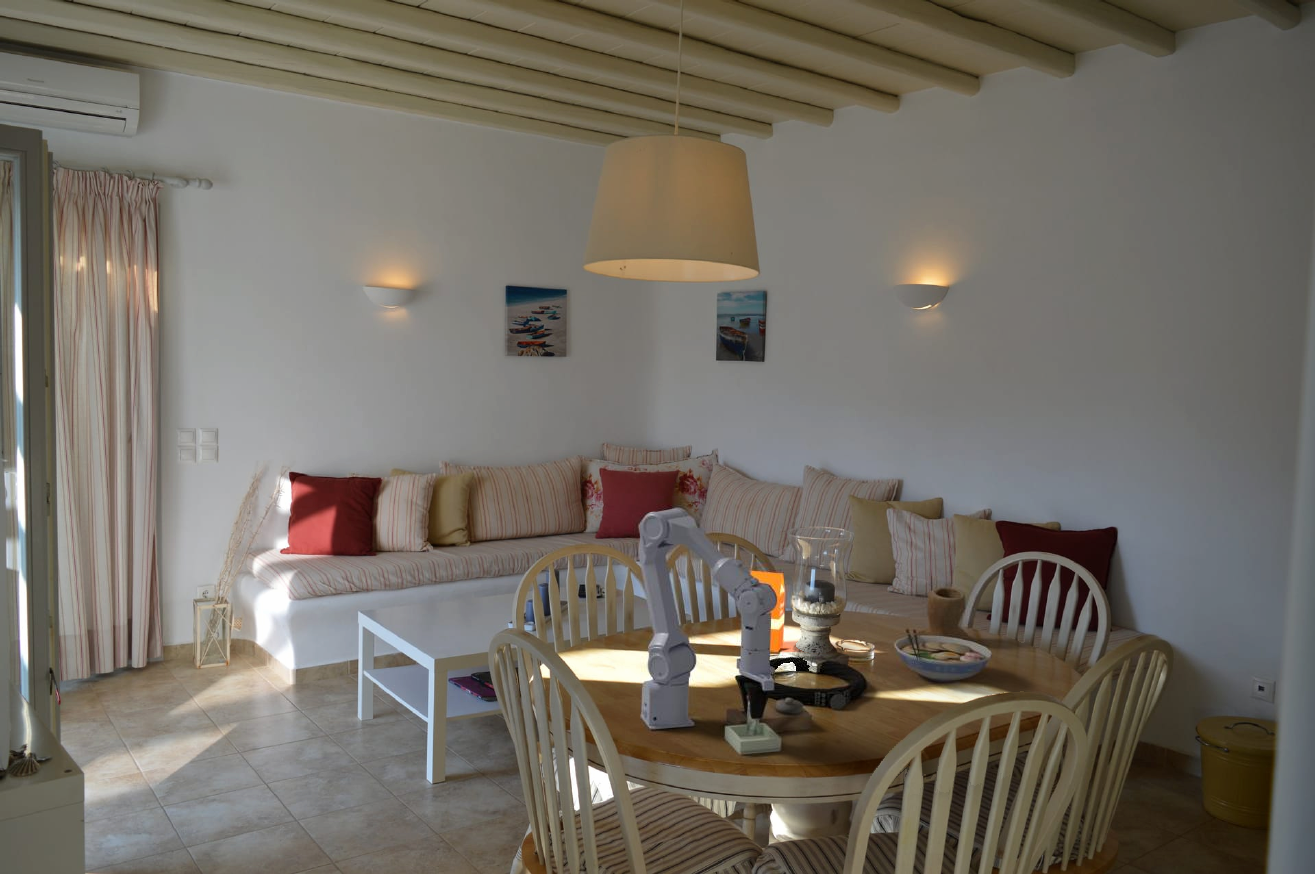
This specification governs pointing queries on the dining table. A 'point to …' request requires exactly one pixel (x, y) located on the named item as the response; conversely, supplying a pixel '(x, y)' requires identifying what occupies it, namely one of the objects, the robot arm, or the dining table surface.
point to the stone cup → (945, 613)
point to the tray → (752, 739)
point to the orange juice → (778, 611)
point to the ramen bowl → (942, 656)
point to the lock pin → (751, 723)
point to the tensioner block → (776, 716)
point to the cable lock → (822, 697)
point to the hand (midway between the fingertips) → (753, 715)
